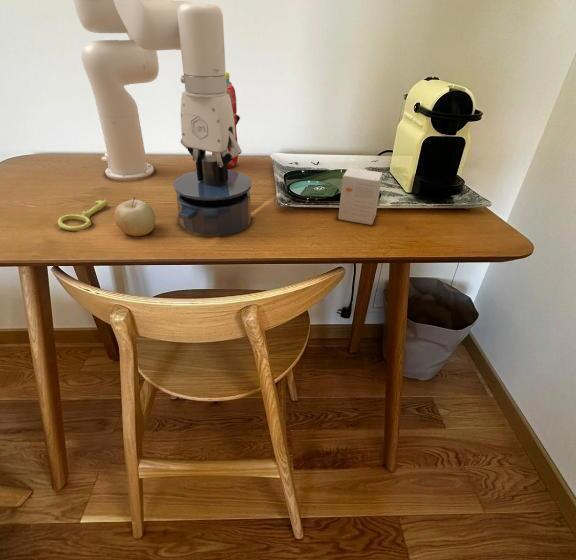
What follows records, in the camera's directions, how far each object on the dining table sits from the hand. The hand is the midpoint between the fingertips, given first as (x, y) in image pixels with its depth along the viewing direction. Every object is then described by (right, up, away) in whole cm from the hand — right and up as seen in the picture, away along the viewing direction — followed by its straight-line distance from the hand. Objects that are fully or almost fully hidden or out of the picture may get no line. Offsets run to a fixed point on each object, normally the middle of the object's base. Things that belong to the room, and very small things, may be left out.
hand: (212, 180), depth 83 cm
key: (-28, -8, +3) cm, 29 cm away
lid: (0, -1, +1) cm, 1 cm away
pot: (0, -8, +5) cm, 9 cm away
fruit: (-15, -11, -1) cm, 19 cm away
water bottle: (-3, +14, +37) cm, 39 cm away
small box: (+32, -6, +9) cm, 34 cm away
